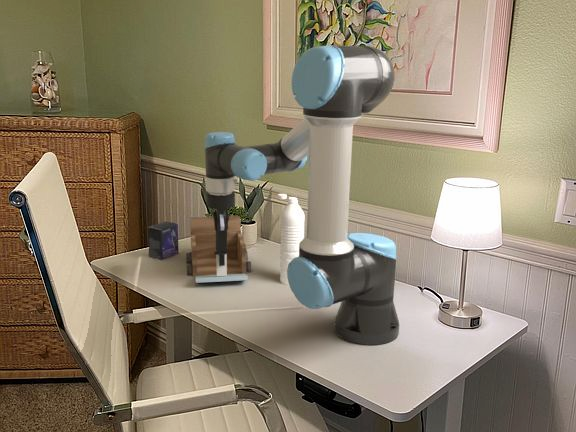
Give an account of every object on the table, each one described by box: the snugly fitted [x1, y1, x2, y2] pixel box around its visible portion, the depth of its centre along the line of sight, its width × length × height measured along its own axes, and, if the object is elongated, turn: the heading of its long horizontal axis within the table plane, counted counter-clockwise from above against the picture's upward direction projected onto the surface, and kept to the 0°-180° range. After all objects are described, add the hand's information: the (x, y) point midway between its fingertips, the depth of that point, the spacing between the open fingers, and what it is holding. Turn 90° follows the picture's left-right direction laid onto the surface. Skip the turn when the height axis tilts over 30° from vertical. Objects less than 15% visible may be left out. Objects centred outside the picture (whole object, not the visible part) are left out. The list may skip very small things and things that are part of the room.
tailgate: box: [193, 273, 249, 284], centre depth 172 cm, size 1×14×9 cm
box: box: [147, 221, 180, 261], centre depth 192 cm, size 8×6×11 cm
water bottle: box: [277, 193, 306, 286], centre depth 171 cm, size 9×6×25 cm
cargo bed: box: [185, 215, 252, 278], centre depth 184 cm, size 19×18×13 cm
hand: (221, 274), depth 169 cm, fingers closed
